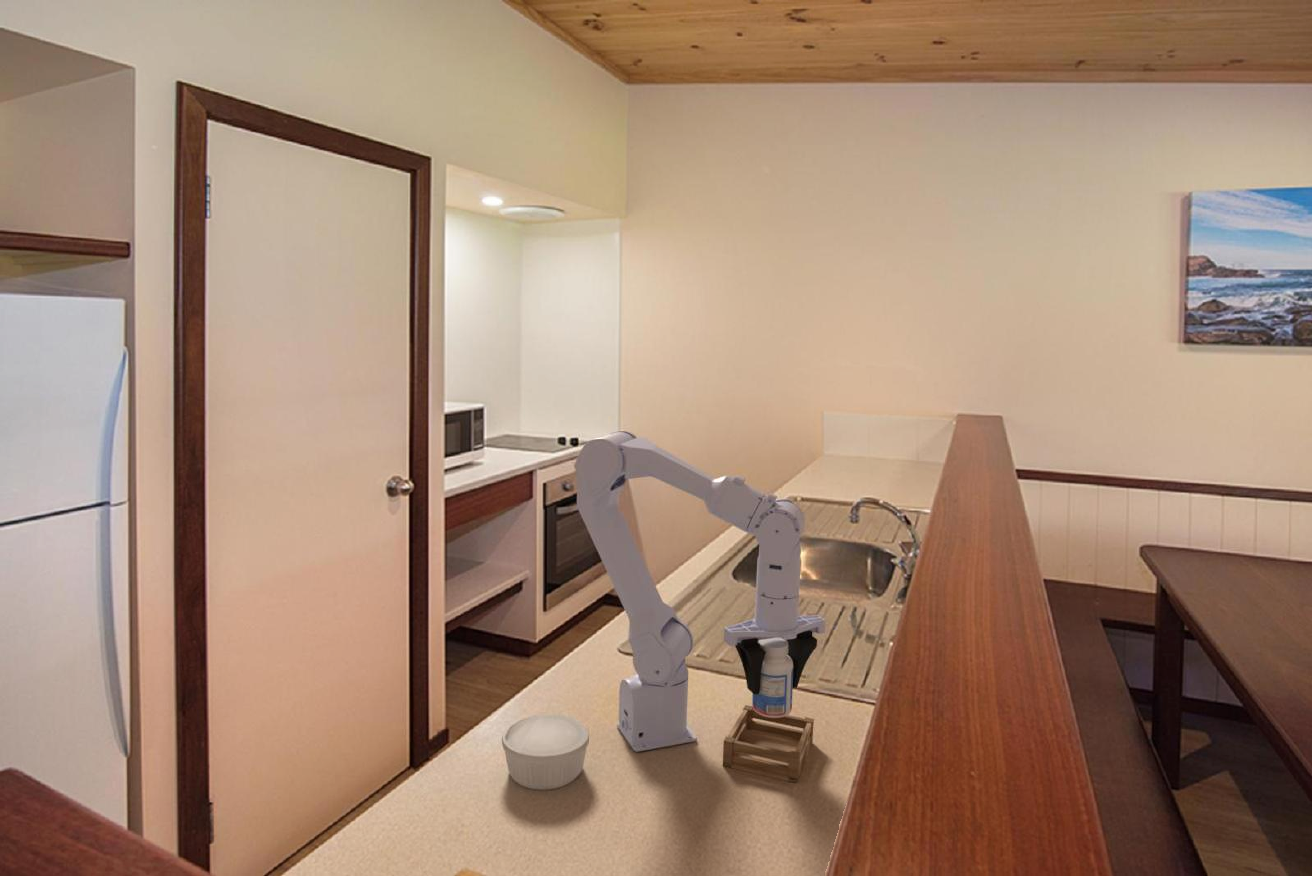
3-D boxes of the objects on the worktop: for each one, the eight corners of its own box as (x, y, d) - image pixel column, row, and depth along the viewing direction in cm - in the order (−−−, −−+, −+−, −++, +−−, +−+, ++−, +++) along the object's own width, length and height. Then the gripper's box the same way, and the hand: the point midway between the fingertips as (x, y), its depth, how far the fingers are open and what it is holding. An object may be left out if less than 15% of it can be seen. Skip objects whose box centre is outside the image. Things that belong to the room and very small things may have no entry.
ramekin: (493, 758, 109) (493, 721, 108) (572, 742, 113) (573, 707, 113) (514, 804, 99) (514, 764, 98) (600, 785, 103) (601, 746, 103)
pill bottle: (766, 696, 115) (769, 630, 113) (799, 709, 111) (802, 641, 110) (743, 709, 111) (745, 642, 109) (776, 723, 107) (779, 653, 105)
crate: (796, 783, 105) (798, 757, 104) (722, 765, 108) (723, 740, 108) (812, 742, 115) (813, 718, 114) (744, 728, 119) (745, 704, 118)
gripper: (743, 608, 102) (738, 709, 104) (840, 596, 107) (834, 692, 109) (718, 590, 108) (714, 685, 110) (811, 579, 114) (806, 671, 116)
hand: (772, 687), depth 110 cm, fingers closed on pill bottle, 5 cm apart
